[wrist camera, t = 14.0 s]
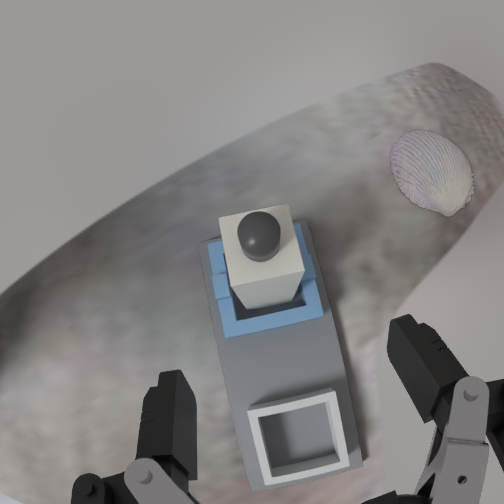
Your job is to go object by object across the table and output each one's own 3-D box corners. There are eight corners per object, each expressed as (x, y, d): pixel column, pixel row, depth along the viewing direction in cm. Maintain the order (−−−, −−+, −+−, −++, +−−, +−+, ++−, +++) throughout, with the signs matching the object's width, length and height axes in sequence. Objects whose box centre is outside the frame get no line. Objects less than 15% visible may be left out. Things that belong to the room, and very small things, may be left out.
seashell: (413, 211, 23) (394, 104, 24) (391, 222, 29) (378, 129, 29) (500, 212, 22) (479, 116, 23) (471, 221, 28) (456, 136, 29)
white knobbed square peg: (291, 301, 24) (308, 261, 13) (247, 310, 24) (225, 278, 13) (281, 259, 25) (289, 188, 14) (239, 268, 25) (212, 203, 14)
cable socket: (360, 463, 20) (373, 478, 17) (252, 488, 20) (249, 507, 17) (305, 222, 26) (310, 204, 23) (200, 245, 26) (189, 230, 23)
